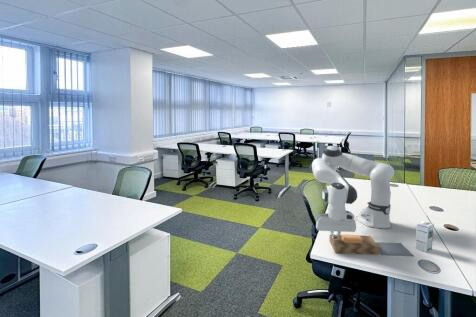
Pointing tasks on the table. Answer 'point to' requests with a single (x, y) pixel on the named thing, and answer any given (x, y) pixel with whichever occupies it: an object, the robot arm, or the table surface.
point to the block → (351, 238)
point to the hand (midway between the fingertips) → (335, 238)
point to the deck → (355, 246)
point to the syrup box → (424, 236)
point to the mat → (393, 249)
